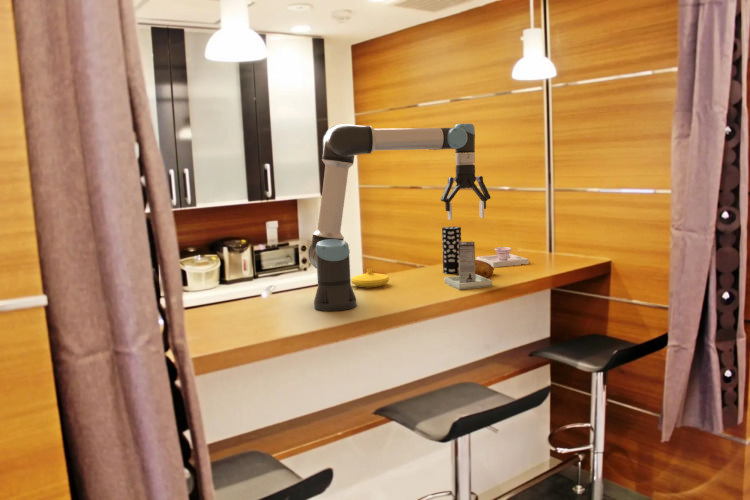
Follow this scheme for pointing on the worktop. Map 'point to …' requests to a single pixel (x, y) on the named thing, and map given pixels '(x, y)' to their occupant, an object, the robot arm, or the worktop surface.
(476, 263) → the croissant
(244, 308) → the worktop surface
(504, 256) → the teacup
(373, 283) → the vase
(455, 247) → the spotted tube
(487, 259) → the saucer
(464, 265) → the coffee box
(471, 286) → the tray
